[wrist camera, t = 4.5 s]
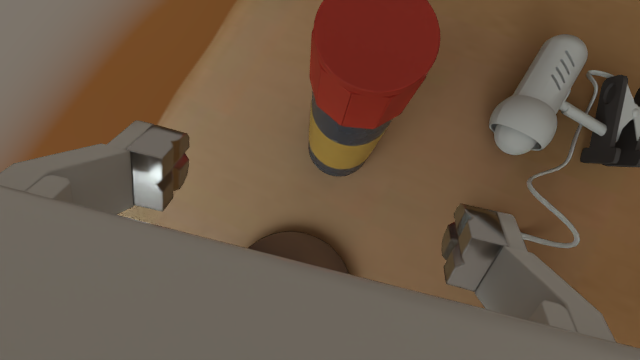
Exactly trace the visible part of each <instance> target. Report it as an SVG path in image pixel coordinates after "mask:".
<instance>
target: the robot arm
mask: <svg viewBox="0 0 640 360" xmlns="http://www.w3.org/2000/svg"><path fill="white" fill-rule="evenodd" d="M188 148H189V136H188V134H187V133H184V132H180V131H176V130H173V129H169V128H165V127H162V126H158V125H154V124H151V123H147V122H143V121H134V122H133V123H132V124H131V125H129V126H128V127H127V128H126V129H125V130H124V131H122V132H121V133H120V134H119V135H118V136H116V137H115V138H114V139H113V140H112V141H110V142H109V143H108V144H107V145H105V144H97V145H93V146H89V147H84V148H80V149H75V150H72V151H67V152H62V153H58V154H54V155H49V156H45V157H40V158H36V159H32V160H27V161H23V162H18V163H14V164H12V165H11V166H9V167H8V168H7V169H5V170H4V171H2V172H1V173H0V360H640V348H636V347H632V346H628V345H624V344H620V343H616V341H615V339H614V337H613V335H612V333H611V331H610V329H609V327H608V325H607V323H606V321H605V319H604V317H603V315H602V314H601V313H600V312H599V311H598V310H597V309H596V308H595V307H593V306H592V305H591V304H590V303H589V302H588V301H587V300H586V299H584V298H583V297H582V296H581V295H580V294H579V293H578V292H576V291H575V290H574V289H573V288H572V287H571V286H570V285H569V284H567V283H566V282H565V281H564V280H563V279H562V278H561V277H559V276H558V275H557V274H556V273H555V272H554V271H553V270H552V269H550V268H549V267H548V266H547V265H546V264H545V263H544V262H542V261H541V260H540V259H539V258H538V257H537V256H536V255H535V254H533V253H530V252H528V251H527V248H526V246H525V243H524V241H523V238H522V235H521V233H520V230H519V228H518V225H517V222H516V220H515V217H514V216H513V215H511V214H507V213H502V212H497V211H492V210H488V209H483V208H479V207H475V206H470V205H466V204H461V203H460V204H459V206H458V207H457V208H456V210H455V212H454V219H455V222H453V223H451V224H450V225H448V226H447V229H446V231H445V233H444V236H443V240H442V248H441V250H442V256H443V257H444V258H445V260H446V263H445V265H444V273H445V280H446V284H449V285H452V286H456V287H459V288H463V289H466V290H470V291H473V292H475V294H476V296H477V297H478V299H479V300H480V301H481V303H482V304H483V306H484V307H485V309H484V308H480V307H476V306H472V305H468V304H464V303H460V302H456V301H452V300H448V299H444V298H440V297H436V296H433V295H429V294H425V293H421V292H417V291H413V290H409V289H405V288H401V287H397V286H393V285H389V284H385V283H382V282H378V281H374V280H370V279H366V278H362V277H358V276H354V275H350V274H346V273H342V272H338V271H334V270H331V269H327V268H323V267H319V266H315V265H311V264H307V263H303V262H299V261H295V260H291V259H287V258H284V257H280V256H276V255H272V254H268V253H264V252H260V251H256V250H252V249H248V248H244V247H240V246H237V245H233V244H229V243H225V242H221V241H217V240H213V239H209V238H205V237H201V236H197V235H193V234H189V233H186V232H182V231H178V230H174V229H170V228H166V227H162V226H158V225H154V224H150V223H146V222H142V221H139V220H135V219H131V218H127V217H123V216H119V215H117V214H119V213H121V212H123V211H125V210H127V209H129V208H131V207H133V206H134V205H136V206H141V207H145V208H149V209H154V210H158V211H164V209H165V208H166V207H167V205H168V204H169V203H170V201H171V200H172V199H173V191H176V190H178V189H180V188H181V186H182V185H183V184H184V181H185V179H186V176H187V173H188V168H189V159H188V157H187V156H186V154H185V152H186V151H187V149H188Z"/></svg>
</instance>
